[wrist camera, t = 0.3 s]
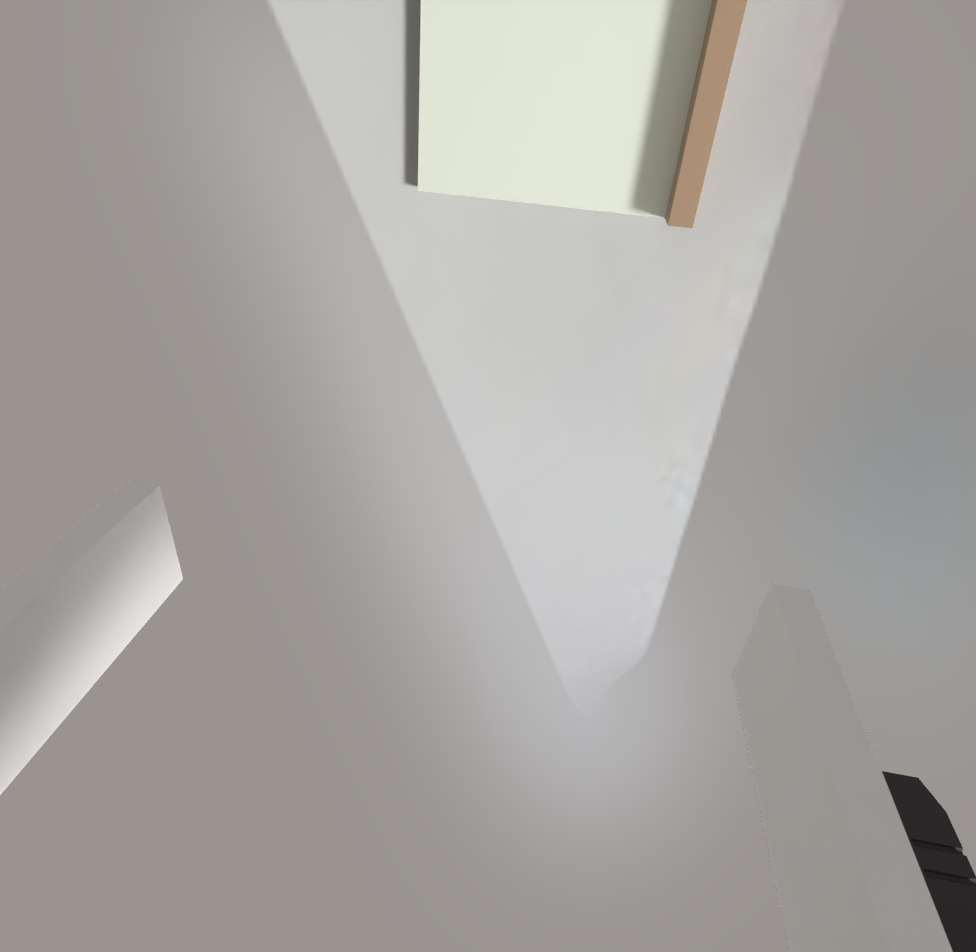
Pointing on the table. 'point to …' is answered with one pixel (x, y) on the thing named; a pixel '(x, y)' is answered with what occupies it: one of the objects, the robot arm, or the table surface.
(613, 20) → the corner
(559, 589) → the table surface
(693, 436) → the table surface
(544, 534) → the table surface
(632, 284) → the table surface
